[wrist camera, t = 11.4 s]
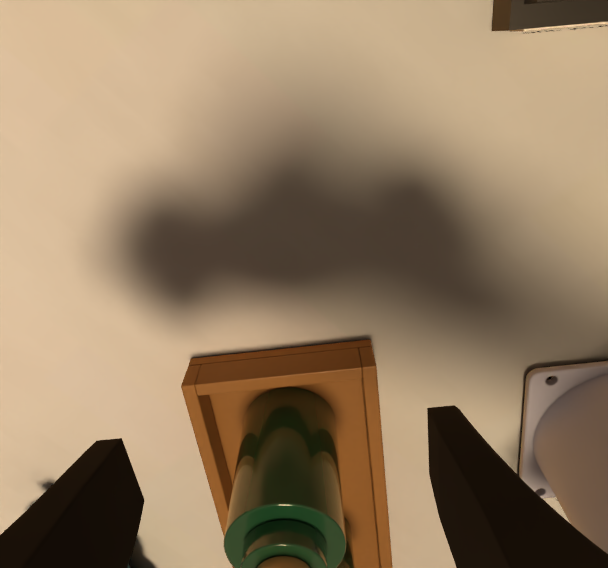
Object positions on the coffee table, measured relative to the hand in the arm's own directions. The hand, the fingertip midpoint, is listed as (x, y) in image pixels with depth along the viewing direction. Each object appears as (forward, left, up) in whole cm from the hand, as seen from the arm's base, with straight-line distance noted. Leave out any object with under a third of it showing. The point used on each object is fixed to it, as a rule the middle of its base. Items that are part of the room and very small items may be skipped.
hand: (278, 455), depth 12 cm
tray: (+1, +15, -10) cm, 18 cm away
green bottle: (+1, +8, -10) cm, 12 cm away
